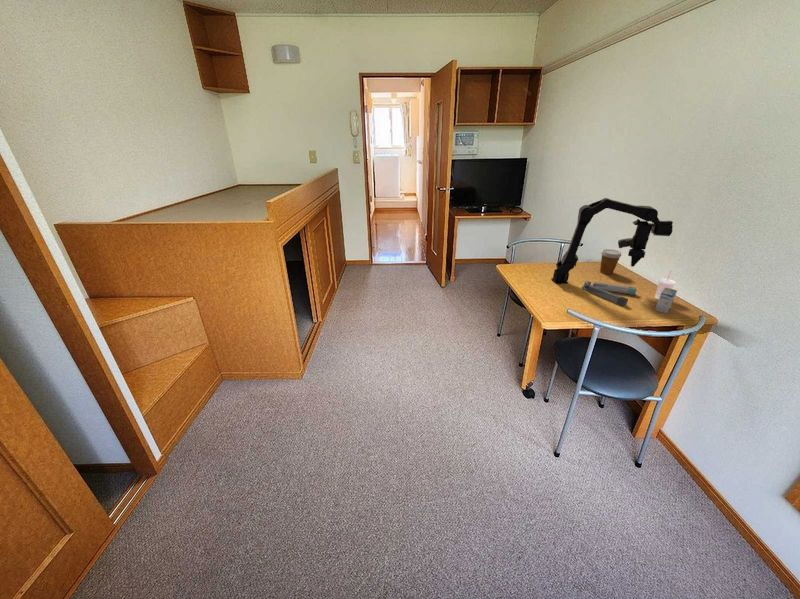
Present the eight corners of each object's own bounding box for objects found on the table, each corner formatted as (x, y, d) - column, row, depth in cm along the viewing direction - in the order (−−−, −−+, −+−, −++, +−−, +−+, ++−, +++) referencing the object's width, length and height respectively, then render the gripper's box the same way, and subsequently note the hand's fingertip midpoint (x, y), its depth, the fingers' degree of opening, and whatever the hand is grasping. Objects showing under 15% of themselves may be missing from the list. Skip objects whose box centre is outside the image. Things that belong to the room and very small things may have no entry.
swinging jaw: (592, 288, 167) (593, 283, 166) (592, 286, 169) (593, 281, 168) (634, 295, 160) (636, 289, 158) (634, 293, 162) (636, 287, 160)
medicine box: (658, 304, 151) (665, 287, 147) (670, 307, 148) (677, 290, 145) (654, 310, 146) (661, 292, 143) (666, 313, 144) (673, 295, 140)
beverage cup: (660, 301, 154) (671, 273, 147) (649, 296, 159) (659, 268, 153) (672, 300, 154) (683, 272, 148) (660, 295, 160) (670, 267, 154)
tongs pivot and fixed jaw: (578, 288, 169) (580, 281, 167) (585, 286, 171) (587, 279, 169) (622, 306, 150) (624, 299, 149) (629, 304, 152) (631, 297, 150)
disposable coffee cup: (619, 275, 182) (625, 254, 177) (602, 275, 183) (607, 254, 177) (610, 269, 191) (615, 249, 186) (593, 269, 191) (598, 249, 186)
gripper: (623, 228, 166) (614, 257, 173) (620, 236, 152) (611, 268, 159) (650, 231, 160) (640, 261, 167) (649, 240, 147) (639, 273, 154)
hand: (632, 265), depth 162 cm, fingers closed
